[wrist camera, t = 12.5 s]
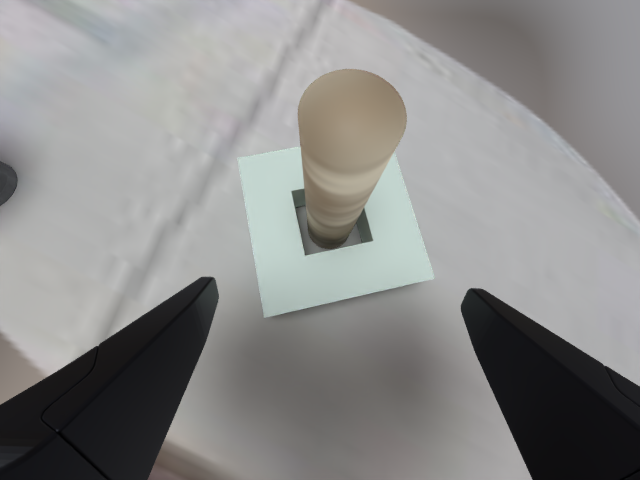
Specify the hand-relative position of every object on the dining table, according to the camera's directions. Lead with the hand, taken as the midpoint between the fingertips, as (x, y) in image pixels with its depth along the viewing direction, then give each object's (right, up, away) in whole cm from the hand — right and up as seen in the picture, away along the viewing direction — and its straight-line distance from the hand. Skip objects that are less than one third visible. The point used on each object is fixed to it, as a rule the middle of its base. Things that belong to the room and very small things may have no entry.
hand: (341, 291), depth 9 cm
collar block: (0, +3, +13) cm, 13 cm away
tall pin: (0, +3, +13) cm, 13 cm away
